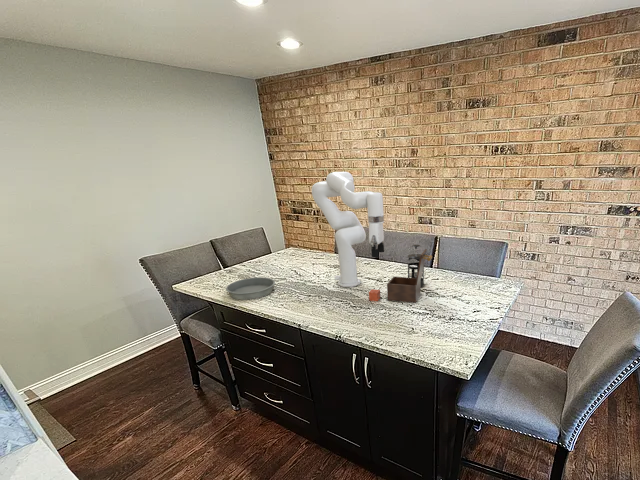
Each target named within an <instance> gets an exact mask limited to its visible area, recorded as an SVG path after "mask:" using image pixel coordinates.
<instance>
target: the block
mask: <svg viewBox="0 0 640 480" xmlns="http://www.w3.org/2000/svg"><path fill="white" fill-rule="evenodd" d="M380 299H381V289H374V288H371V289H370V290H369V291H368V301H370V302H379V301H380Z"/></svg>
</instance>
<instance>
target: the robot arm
mask: <svg viewBox="0 0 640 480" xmlns="http://www.w3.org/2000/svg"><path fill="white" fill-rule="evenodd" d="M355 189H356V188H355V181H354V177H353V175H352V173H351V172H349V171H333V172H330V173H328V174H327V175H326V178H325V181H323V180H322V181H318V182H315V183H314V184H313V185H312V186H311V197H312V199H313V201H314V203H315V204H316V206H317V208H319V209H320V211H321V212H322V214H323V216H324V217H325V219H326V221H327V223H328V224H329V226H330V228H331V229H332V230H334V231H336V232H335V233H334V240H335V243H336V247H337V254H338V266H339V275H336V274H335V275H334V280H335V281H338V282H337V284H338V286H339V287H342V288H352V287H356V286H357V287H358V286H359V285H360V284H361V279H360V278H358V265H357V254H356V251H355V249H354V248H353V245H358V244H362V243H364V242H365V241H366V238H367V232H366V230H365V228H364V226H363V225H362V223H361V221H360V220H359V218H358V216H357V215H356V213H355V212H353V211H352V210H340V209H339V207H338V206H337V204H336V203H335V202H334V201H333V200H331V199H329V198H335V197H340V199H341V201H342V203H343V204H344V205H346V206H347V207H348V208H350V209H353V210H361V209H366V208H367V221H368V243H369V245H370V249H371V250H370V251H371V258H379V253H385V242H384V241H385V240H384V239H385V231H384V223H385V213H384V196H383V193H381V192H378V191H376V192H375V191H369V190H367V191H356V192H355Z"/></svg>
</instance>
